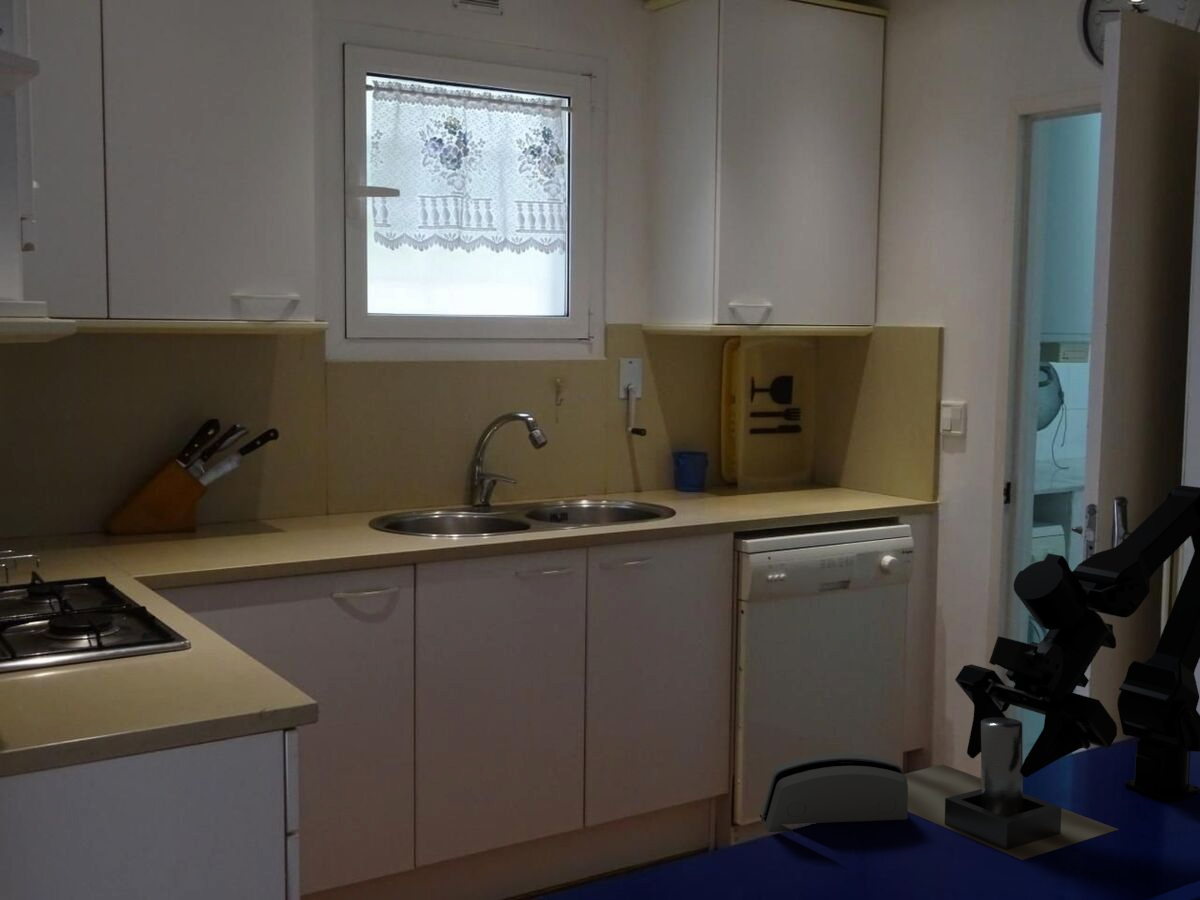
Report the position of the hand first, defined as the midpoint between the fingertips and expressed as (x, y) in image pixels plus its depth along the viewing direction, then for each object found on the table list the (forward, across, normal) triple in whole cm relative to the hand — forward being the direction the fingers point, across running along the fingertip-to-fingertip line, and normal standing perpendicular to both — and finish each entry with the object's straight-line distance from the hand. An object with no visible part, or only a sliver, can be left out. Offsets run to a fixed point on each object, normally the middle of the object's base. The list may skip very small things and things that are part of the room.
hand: (995, 765), depth 148 cm
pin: (+4, 0, +6) cm, 8 cm away
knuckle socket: (+4, 0, +6) cm, 8 cm away
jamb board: (+3, -6, +9) cm, 11 cm away
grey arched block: (+15, -13, -2) cm, 20 cm away
